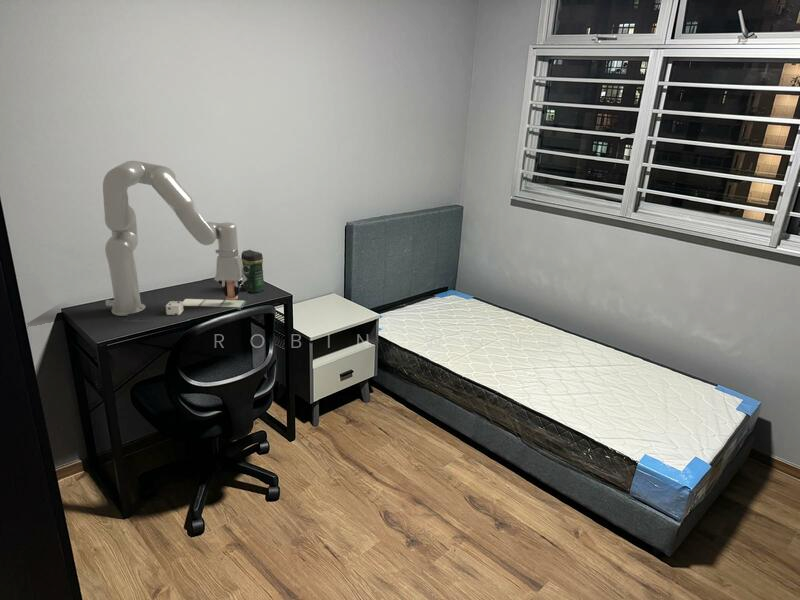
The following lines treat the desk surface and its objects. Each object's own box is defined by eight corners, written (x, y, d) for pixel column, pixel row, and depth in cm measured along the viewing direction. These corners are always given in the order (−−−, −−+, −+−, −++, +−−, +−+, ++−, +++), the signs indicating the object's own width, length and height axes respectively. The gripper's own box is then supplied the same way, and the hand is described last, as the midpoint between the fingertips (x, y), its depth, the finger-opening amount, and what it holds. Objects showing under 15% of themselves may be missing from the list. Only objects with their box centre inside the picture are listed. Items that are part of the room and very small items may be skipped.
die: (166, 317, 224) (165, 304, 222) (171, 312, 229) (170, 300, 227) (179, 317, 224) (177, 305, 222) (183, 312, 229) (182, 300, 227)
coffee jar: (267, 290, 258) (265, 251, 252) (253, 294, 252) (251, 254, 246) (254, 285, 264) (252, 247, 258) (240, 289, 258) (237, 250, 252)
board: (177, 308, 234) (177, 305, 233) (184, 300, 242) (184, 298, 242) (240, 309, 234) (240, 307, 234) (246, 302, 243) (245, 300, 242)
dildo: (224, 300, 235) (222, 276, 231) (227, 296, 239) (226, 272, 236) (236, 300, 235) (234, 276, 231) (239, 296, 240) (237, 272, 236)
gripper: (205, 254, 227) (209, 297, 233) (246, 256, 227) (249, 298, 233) (211, 250, 234) (214, 291, 240) (251, 251, 234) (253, 292, 240)
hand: (231, 294), depth 237 cm, fingers closed on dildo, 3 cm apart
